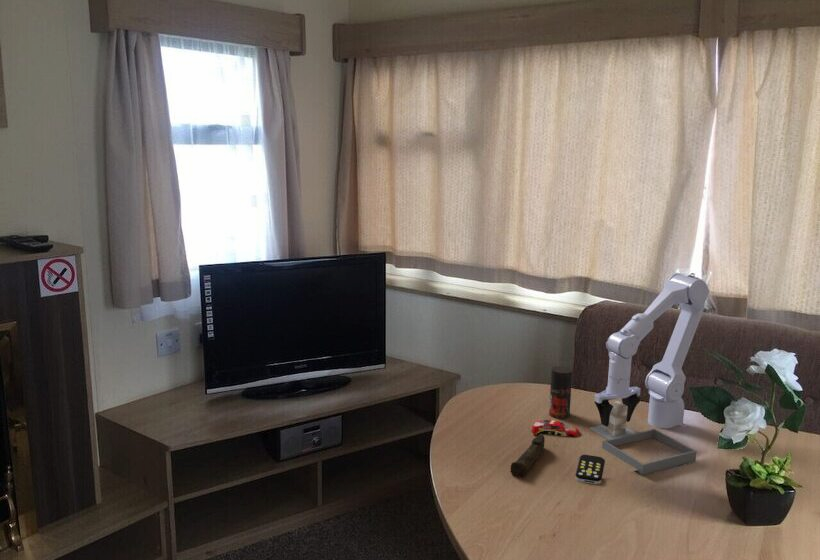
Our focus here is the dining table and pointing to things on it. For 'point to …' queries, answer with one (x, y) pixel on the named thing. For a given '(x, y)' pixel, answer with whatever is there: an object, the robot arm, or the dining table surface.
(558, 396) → the deodorant
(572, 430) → the race car
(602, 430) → the stud plate
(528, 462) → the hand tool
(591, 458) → the remote control
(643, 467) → the bin
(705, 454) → the dining table surface
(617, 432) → the beige block
